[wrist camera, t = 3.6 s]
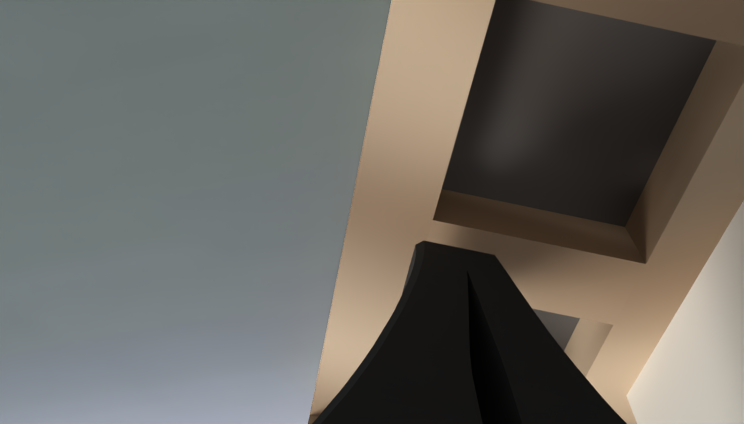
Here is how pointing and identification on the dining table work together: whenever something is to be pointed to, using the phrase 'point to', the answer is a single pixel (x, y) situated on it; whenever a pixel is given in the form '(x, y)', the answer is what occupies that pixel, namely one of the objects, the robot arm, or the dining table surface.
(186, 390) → the dining table surface
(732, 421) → the block
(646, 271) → the tray
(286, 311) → the dining table surface
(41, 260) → the dining table surface
